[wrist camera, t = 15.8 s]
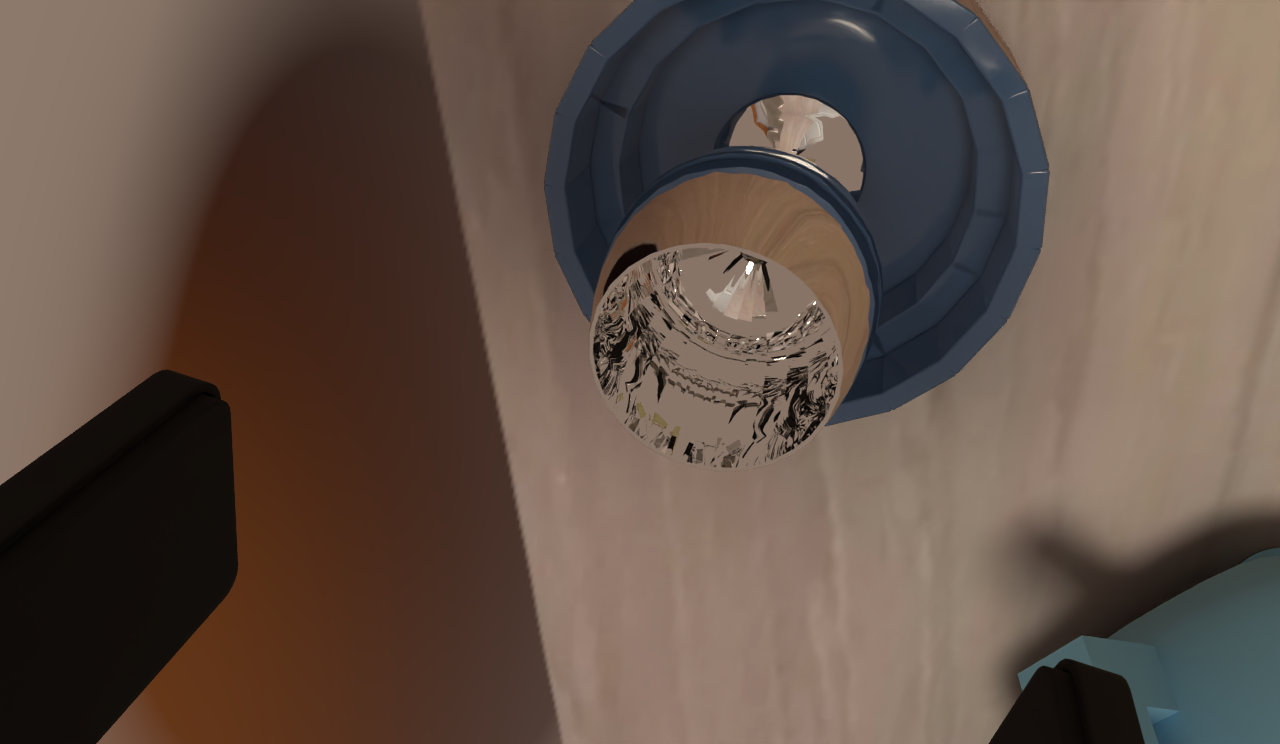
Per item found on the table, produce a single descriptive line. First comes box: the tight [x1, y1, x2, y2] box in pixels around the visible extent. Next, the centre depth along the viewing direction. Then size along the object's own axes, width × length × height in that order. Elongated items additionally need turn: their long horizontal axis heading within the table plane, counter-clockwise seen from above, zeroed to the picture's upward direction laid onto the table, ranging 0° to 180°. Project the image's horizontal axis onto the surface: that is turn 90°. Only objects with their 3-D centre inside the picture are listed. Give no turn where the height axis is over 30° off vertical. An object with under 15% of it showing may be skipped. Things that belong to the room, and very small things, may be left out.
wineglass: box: [589, 92, 883, 471], centre depth 22 cm, size 6×6×12 cm
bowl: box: [544, 0, 1050, 426], centre depth 25 cm, size 12×12×5 cm
